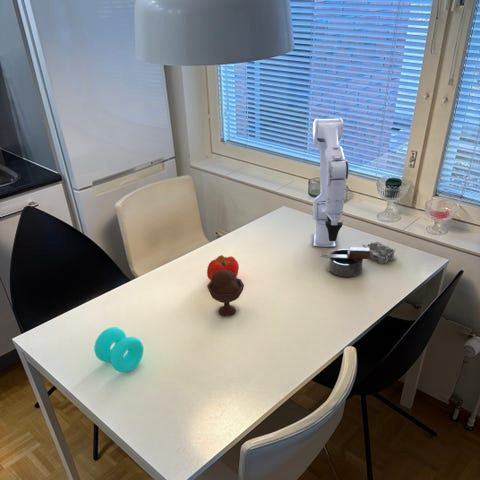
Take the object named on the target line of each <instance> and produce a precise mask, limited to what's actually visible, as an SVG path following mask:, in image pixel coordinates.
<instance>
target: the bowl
mask: <svg viewBox="0 0 480 480" xmlns="http://www.w3.org/2000/svg"><path fill="white" fill-rule="evenodd" d="M349 250H350V248H340V249H336V250H333V251H332V252H330V254H342V255H347V252H348V251H349ZM363 261H364V259H347V258H328V270H329V272H331V274H333V275H335V276H338V277H344V278H345V277H347V278H349V277H355V276H358V275H359V274H361V272H362V271H363V270H362V269H363Z"/></svg>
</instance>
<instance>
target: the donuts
mask: <svg viewBox="0 0 480 480" xmlns="http://www.w3.org/2000/svg"><path fill="white" fill-rule="evenodd" d="M113 344H114V345H113ZM112 345H113V346H112ZM111 347H112V348H111ZM93 348H94V350H93V351H94V354H95V356H96V358H97V359H98V360H99V361H101V362H104V363H111V366H112V368H113V369H114V370H115V371H116V372H119V373H128V372H131V371H133V370H134V369H135V368H136V367H137V366H138V365H139V364H140V363H141V361H142V358H143V355H144V345H143V342H142V341H141V340H140V339H139V338H137V337H135V336H127V335H126V333H125V331H124V330H123V329H121V328H120V327H116V326H112V327H108V328H106V329H104V330H103V331H102V332H100V334H99V335H98V336H97V338H96V340H95V343H94V347H93Z"/></svg>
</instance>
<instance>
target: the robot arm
mask: <svg viewBox="0 0 480 480" xmlns="http://www.w3.org/2000/svg"><path fill="white" fill-rule="evenodd" d="M343 132H344V120H343V119H342V117H338V118H323V119H318V118H315V119H314V120H313V124H312V139H313V140H312V142H313V145H314V146H315V147H317V148H318V151H319V185H320V186H319V192H320V194H319V195H317V196H316V197H314V199H313V201H312V214H311V215H312V220H313V221H315V231H314V232H315V233H314V234H313V246H314V247H322V248H324V247H325V248H326V247H327V248H335V247H336V241H337V239H338V234H339V232H340V230H341V228H342V227H343V225H344V224H343V223H344V222H342V221H339V220H340V219H341V217H342V216H343V215H344V204H345V203H344V202H345V191H346V180H348V178H349V174H350V173H349V172H350V165H349V161H348V160H347V158H345V155H344V150H343V147H342V146H341V145H340V143H341V140H342V137H343V134H344V133H343Z"/></svg>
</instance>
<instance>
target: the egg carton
mask: <svg viewBox="0 0 480 480" xmlns="http://www.w3.org/2000/svg"><path fill="white" fill-rule="evenodd" d="M361 247H364V248H370V254H369V258H370V260H372V261H378V263H379V264H387V263H388V261H393V260H394V255H395V253H396V251H397V249H395V248H391V247H390V246H388V245H385V244H382V242H380V241H374V242H370V243H368V244H367V245H366V244H362V246H361Z"/></svg>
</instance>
